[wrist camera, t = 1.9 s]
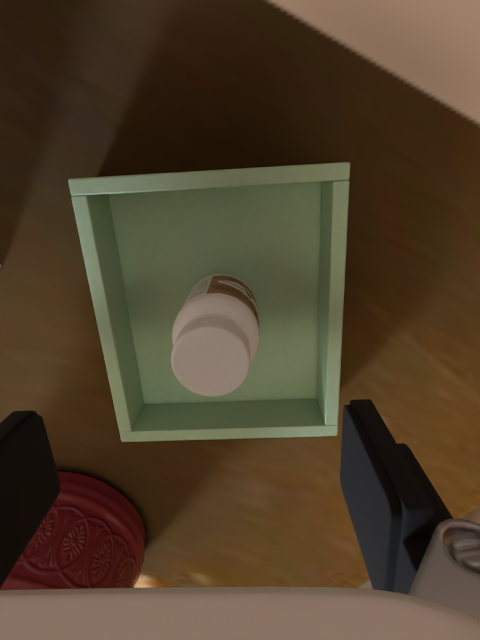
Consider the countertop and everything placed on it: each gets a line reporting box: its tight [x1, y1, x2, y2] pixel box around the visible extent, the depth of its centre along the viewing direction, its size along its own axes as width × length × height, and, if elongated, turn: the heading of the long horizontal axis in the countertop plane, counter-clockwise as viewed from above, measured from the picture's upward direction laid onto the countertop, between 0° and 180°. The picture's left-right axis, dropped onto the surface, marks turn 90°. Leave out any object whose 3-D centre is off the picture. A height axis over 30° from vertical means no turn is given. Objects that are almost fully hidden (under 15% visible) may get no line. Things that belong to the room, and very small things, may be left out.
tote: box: [68, 162, 350, 442], centre depth 22 cm, size 16×14×3 cm
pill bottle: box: [171, 274, 260, 396], centre depth 19 cm, size 4×4×8 cm
